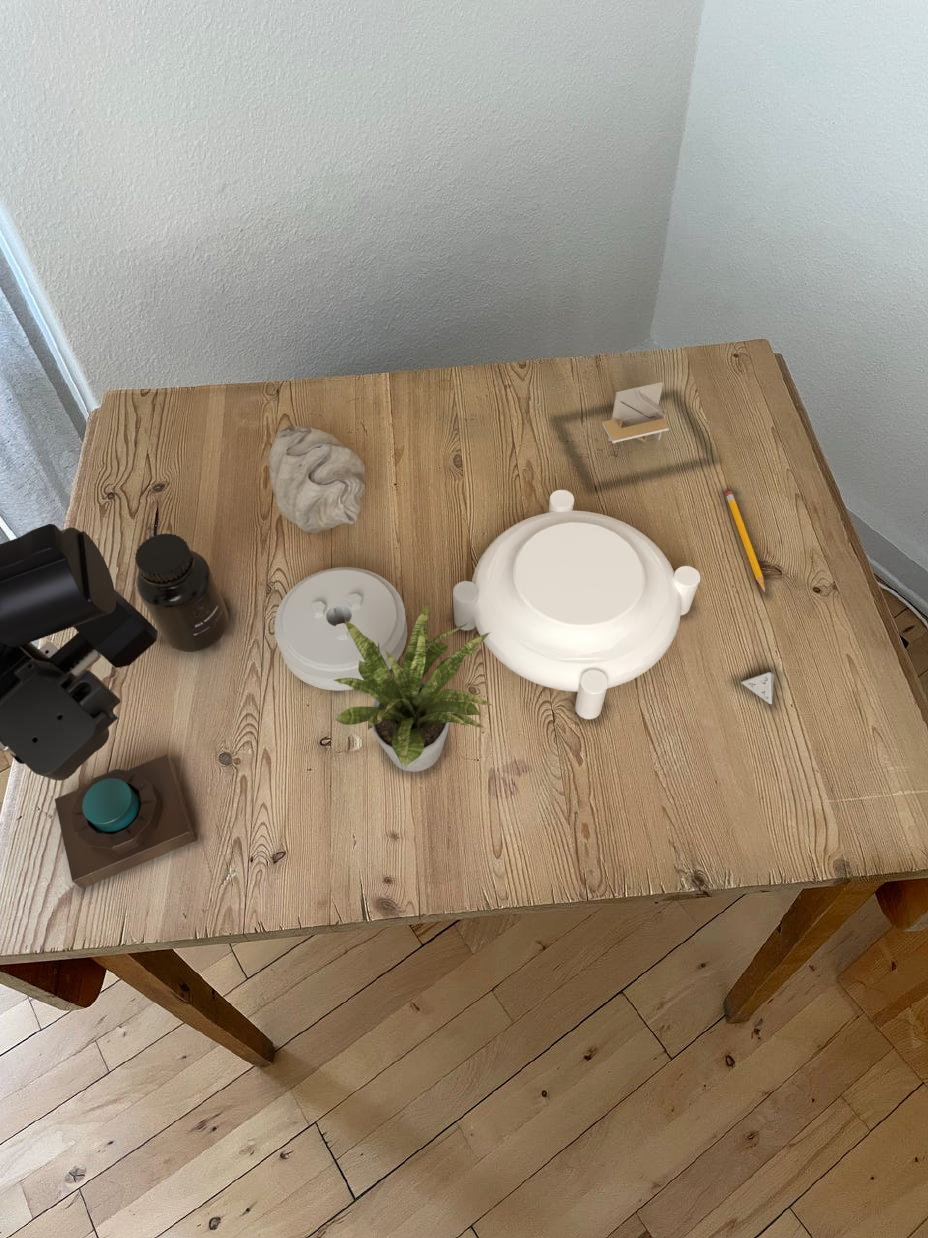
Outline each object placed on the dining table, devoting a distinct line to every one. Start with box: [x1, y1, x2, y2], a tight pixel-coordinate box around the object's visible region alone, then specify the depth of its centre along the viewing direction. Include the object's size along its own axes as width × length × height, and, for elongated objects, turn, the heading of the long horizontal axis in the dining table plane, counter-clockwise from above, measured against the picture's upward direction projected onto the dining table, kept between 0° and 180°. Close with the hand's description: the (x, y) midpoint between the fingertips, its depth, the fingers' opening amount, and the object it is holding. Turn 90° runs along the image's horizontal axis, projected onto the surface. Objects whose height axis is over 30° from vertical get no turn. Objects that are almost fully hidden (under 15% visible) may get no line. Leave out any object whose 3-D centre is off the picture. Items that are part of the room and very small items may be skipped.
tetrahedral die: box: [740, 671, 775, 705], centre depth 83 cm, size 4×3×3 cm
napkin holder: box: [602, 381, 670, 444], centre depth 98 cm, size 3×7×7 cm, turn 106°
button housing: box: [54, 753, 197, 890], centre depth 75 cm, size 10×8×4 cm
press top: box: [83, 778, 139, 832], centre depth 73 cm, size 4×4×2 cm
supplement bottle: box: [134, 532, 230, 653], centre depth 83 cm, size 7×7×12 cm
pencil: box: [725, 490, 766, 593], centre depth 93 cm, size 1×13×1 cm, turn 7°
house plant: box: [332, 604, 492, 773], centre depth 73 cm, size 14×14×16 cm
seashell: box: [268, 424, 367, 534], centre depth 92 cm, size 10×15×10 cm
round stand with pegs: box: [452, 489, 701, 720], centre depth 85 cm, size 24×24×7 cm
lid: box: [273, 566, 408, 692], centre depth 85 cm, size 13×13×5 cm
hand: (91, 741), depth 69 cm, fingers closed
